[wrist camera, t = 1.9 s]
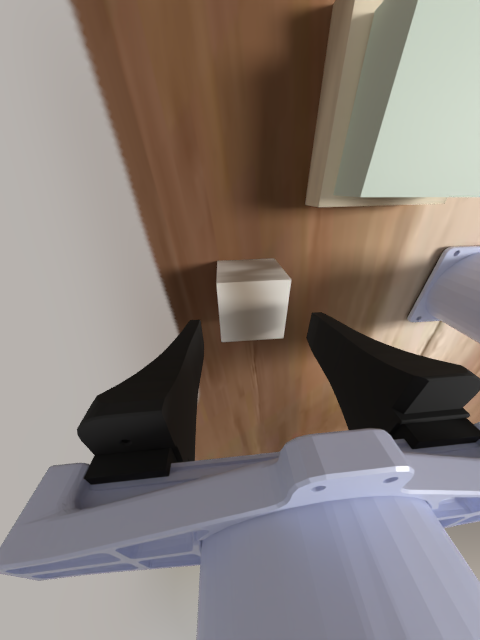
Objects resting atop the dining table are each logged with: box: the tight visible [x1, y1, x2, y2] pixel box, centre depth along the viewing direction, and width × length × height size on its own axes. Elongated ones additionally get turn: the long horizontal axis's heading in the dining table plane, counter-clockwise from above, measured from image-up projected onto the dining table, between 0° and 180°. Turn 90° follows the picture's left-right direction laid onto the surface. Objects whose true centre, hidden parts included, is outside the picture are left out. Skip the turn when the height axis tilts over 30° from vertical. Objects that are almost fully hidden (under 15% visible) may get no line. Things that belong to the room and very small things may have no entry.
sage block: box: [333, 0, 480, 197], centre depth 10 cm, size 7×7×3 cm
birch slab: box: [305, 0, 448, 207], centre depth 12 cm, size 9×9×3 cm
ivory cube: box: [216, 259, 291, 342], centre depth 16 cm, size 5×5×5 cm
